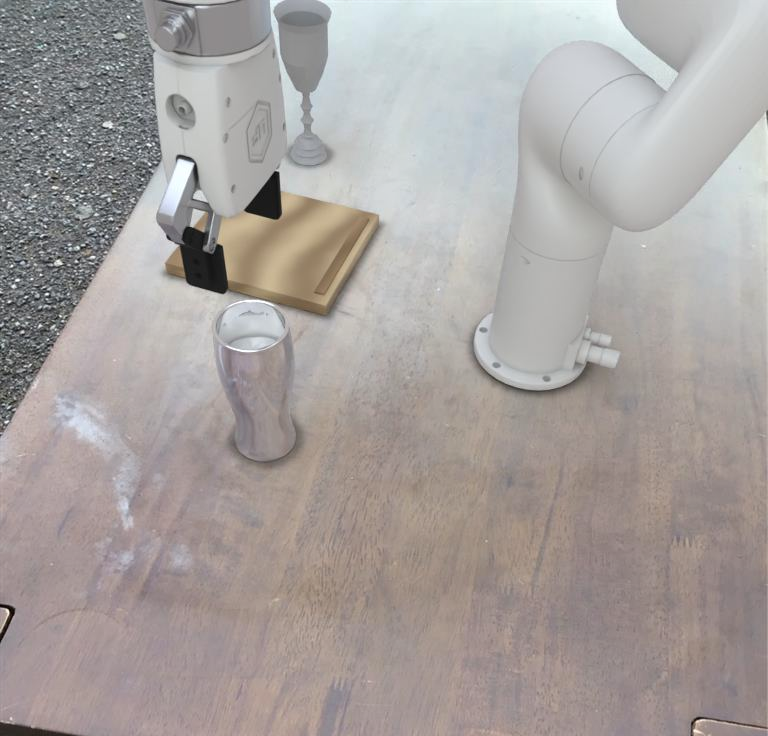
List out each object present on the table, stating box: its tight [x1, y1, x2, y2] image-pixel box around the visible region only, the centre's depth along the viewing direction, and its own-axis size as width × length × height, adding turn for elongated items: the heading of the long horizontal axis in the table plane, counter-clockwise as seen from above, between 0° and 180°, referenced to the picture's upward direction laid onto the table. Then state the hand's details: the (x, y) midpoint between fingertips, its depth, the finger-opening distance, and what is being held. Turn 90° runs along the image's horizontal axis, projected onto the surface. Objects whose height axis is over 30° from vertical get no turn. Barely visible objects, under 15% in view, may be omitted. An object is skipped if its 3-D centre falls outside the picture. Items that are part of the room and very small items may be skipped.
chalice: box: [272, 0, 332, 166], centre depth 103 cm, size 7×7×18 cm
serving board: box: [164, 190, 380, 317], centre depth 98 cm, size 20×18×2 cm
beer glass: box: [211, 298, 297, 463], centre depth 75 cm, size 7×7×15 cm
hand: (236, 249), depth 63 cm, fingers open, 9 cm apart
